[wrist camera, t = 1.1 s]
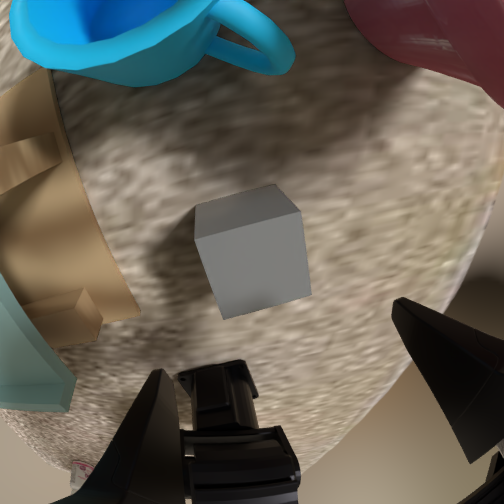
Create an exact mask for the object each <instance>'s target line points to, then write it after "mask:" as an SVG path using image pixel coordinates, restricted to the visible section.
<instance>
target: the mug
mask: <svg viewBox="0 0 504 504" xmlns="http://www.w3.org/2000/svg"><path fill="white" fill-rule="evenodd" d="M9 19H10V29H11V38H12V40H13V41H14V43H15V44H16V46H17V47H18V49H19V51H20V52H21V54H22V55H23V57H25V58H27V59H29V60H31V61H33V62H35V63H37V64H39V65H40V66H42V67H44V68H47V69H53V70H58V71H63V72H68V73H73V74H77V75H81V76H86V77H90V78H94V79H98V80H102V81H106V82H109V83H113V84H118V85H124V86H129V87H134V88H135V87H143V86H153V85H158V84H161V83H163V82H166V81H169V80H171V79H174V78H177V77H179V76H180V75H182V74H183V73H184V72H186V71H187V70H189V69H190V68H192V67H193V66H195V65H196V64H197V63H198V62H199V61H200V60H201V59H202V58H203V56H204V55H205V54H207V55H210V56H212V57H214V58H217V59H220V60H222V61H225V62H228V63H230V64H233V65H235V66H238V67H241V68H244V69H247V70H250V71H253V72H257V73H261V74H265V75H282V74H285V73H286V72H288V71H289V69H290V68H291V66H292V64H293V62H294V60H295V57H296V54H295V51H294V48H293V46H292V44H291V42H290V40H289V38H288V37H287V36H286V34H285V33H284V32H283V31H282V30H281V29H280V28H279V27H278V26H277V25H276V24H275V23H274V22H273V21H272V20H271V19H270V18H268V17H267V16H266V15H264V14H263V13H262V12H260V11H259V10H257V9H256V8H254V7H253V6H252V5H250V4H249V3H247V2H246V1H244V0H13V1H12V5H11V9H10V13H9ZM220 24H222V25H224V26H226V27H227V28H229V29H231V30H232V31H234V32H235V33H237V34H239V35H240V36H242V37H243V38H245V39H246V40H248V41H249V42H251V43H252V44H253V45H254V46H255V47H256V48H258V49H259V50H260V51H258V50H254V49H251V48H248V47H244V46H241V45H239V44H236V43H233V42H231V41H228V40H225V39H222V38H220V37H218V36H216V35H217V33H218V31H219V28H220Z"/></svg>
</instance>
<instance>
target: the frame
mask: <svg viewBox="0 0 504 504" xmlns="http://www.w3.org/2000/svg"><path fill="white" fill-rule="evenodd" d="M0 273H1V275H2V276H3V278H4V280H5V282H6V283H7V285H8V287H9V288H10V290H11V292H12V293H13V295H14V297H15V298H16V300H17V301H18V303H19V305H20V306H21V308H22V309H23V311H24V312H25V314H26V315H27V317H28V318H29V319H30V321H31V322H32V324H33V325H34V326H35V328H36V329H37V331H38V332H39V333H40V335H41V336H42V337H43V339H44V340H45V341H46V342H47V344H48V345H49V346H50V348H51V349H52V348H58V347H64V346H70V345H75V344H81V343H86V342H92V341H96V340H97V337H98V334H99V331H100V328H101V325H102V324H106V323H110V322H115V321H119V320H123V319H128V318H132V317H136V316H140V311H141V310H140V308H139V307H138V305H137V303H136V301H135V299H134V297H133V296H132V294H131V292H130V290H129V288H128V286H127V284H126V282H125V280H124V278H123V276H122V274H121V272H120V270H119V268H118V266H117V264H116V262H115V260H114V258H113V256H112V254H111V252H110V250H109V247H108V245H107V243H106V241H105V239H104V236H103V234H102V232H101V230H100V227H99V225H98V222H97V220H96V218H95V215H94V213H93V210H92V208H91V205H90V203H89V200H88V198H87V195H86V192H85V190H84V187H83V184H82V182H81V179H80V176H79V173H78V170H77V167H76V164H75V161H74V158H73V155H72V152H71V149H70V145H69V142H68V139H67V135H66V132H65V128H64V125H63V121H62V117H61V113H60V109H59V105H58V101H57V96H56V92H55V87H54V82H53V77H52V72H51V69H47V68H44V67H42V68H40V69H39V70H37V71H35V72H34V73H32V74H31V75H29V76H28V77H27V78H25V79H24V80H22V81H21V82H19V83H18V84H17V85H15V86H14V87H13V88H11V89H10V90H9V91H7V92H6V93H5V94H3V95H2V96H1V97H0Z"/></svg>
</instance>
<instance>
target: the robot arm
mask: <svg viewBox="0 0 504 504" xmlns="http://www.w3.org/2000/svg"><path fill="white" fill-rule="evenodd" d="M391 316H392V321H393V323H394V325H395V327H396V329H397V331H398V333H399V335H400V337H401V339H402V341H403V343H404V345H405V347H406V349H407V351H408V353H409V354H410V356H411V357H412V359H413V361H414V362H415V364H416V366H417V367H418V369H419V371H420V372H421V374H422V375H423V377H424V379H425V381H426V382H427V384H428V386H429V387H430V389H431V391H432V393H433V394H434V396H435V398H436V400H437V401H438V403H439V405H440V407H441V409H442V410H443V412H444V414H445V416H446V418H447V420H448V421H449V424H450V425H451V427H452V429H453V431H454V433H455V435H456V437H457V439H458V441H459V443H460V445H461V447H462V449H463V451H464V453H465V455H466V458H467V460H468V462H469V463H470V464H471V463H473V462H474V461H476V460H477V459H479V458H480V457H481V456H482V455H484V454H485V453H487V452H488V451H489V450H490V449H492V448H493V447H494V446H495V445H496V446H497V447H498V449H499V451H498V452H497V453H496V454H494V455H493V456H492V459H491V463H490V467H489V471H488V475H487V477H486V482H485V483H484V484H483V485H481V486H480V487H479V488H478V489H476V490H475V491H474V492H472V493H471V494H470V495H468V496H467V497H466V498H464V499H463V500H462V501H460V502H459V503H457V504H504V340H501V339H499V338H496V337H493V336H491V335H488V334H486V333H484V332H481V331H479V330H477V329H474V328H472V327H470V326H468V325H466V324H464V323H461V322H459V321H457V320H455V319H453V318H450V317H448V316H446V315H444V314H441V313H439V312H437V311H435V310H432V309H430V308H428V307H425V306H423V305H421V304H419V303H416V302H414V301H412V300H409V299H407V298H405V297H401V298H398V299H396V300H394V302H393V307H392V314H391ZM178 381H179V382H180V384H181V385H182V387H183V388H184V389H185V391H186V392H187V393H188V395H189V396H190V397H191V407H192V425H193V431H192V430H184V429H179V417H178V410H177V404H176V398H175V391H174V384H173V382H172V380H171V378H170V377H169V376H168V374H167V373H166V371H165V370H164V369H162V368H161V369H155V370H153V371H152V372H151V373H150V375H149V377H148V379H147V380H146V382H145V384H144V385H143V387H142V389H141V390H140V392H139V394H138V396H137V397H136V399H135V401H134V402H133V404H132V406H131V408H130V409H129V411H128V413H127V415H126V416H125V418H124V420H123V421H122V423H121V425H120V427H119V428H118V430H117V432H116V434H115V436H114V437H113V441H111V442H110V444H109V446H108V448H107V449H106V451H105V453H104V454H103V456H102V458H101V459H100V461H99V462H98V464H97V465H96V467H95V468H94V469H93V471H92V472H91V474H90V475H89V476H88V478H87V479H86V481H85V482H84V484H83V485H82V486H81V487H80V489H79V490H78V491H76V492H75V493H74V494H72V495H70V496H68V497H65V498H63V499H60V500H58V501H56V502H53V503H50V504H186V503H185V499H191V500H192V504H298V495H297V489H298V487H299V485H300V480H301V472H300V466H299V463H298V460H297V457H296V455H295V453H294V451H293V449H292V447H291V445H290V443H289V441H288V439H287V437H286V435H285V433H284V431H283V429H282V427H281V425H279V426H274V427H269V428H259V426H258V421H257V417H256V412H255V408H254V403H253V399H255V398H257V397H258V396H259V395H258V391H257V389H256V386H255V384H254V381H253V379H252V376H251V374H250V371H249V369H248V366H247V364H246V362H245V361H244V360H238V361H234V362H230V363H226V364H221V365H217V366H213V367H208V368H203V369H199V370H194V371H189V372H184V373H180V374H178ZM185 455H194V457H193V456H185Z"/></svg>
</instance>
